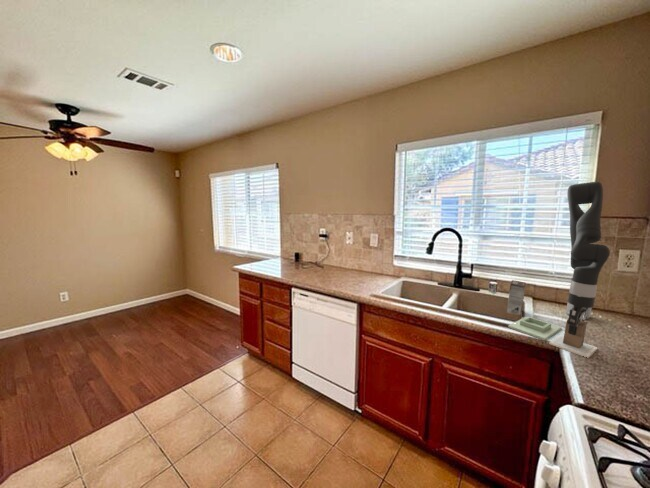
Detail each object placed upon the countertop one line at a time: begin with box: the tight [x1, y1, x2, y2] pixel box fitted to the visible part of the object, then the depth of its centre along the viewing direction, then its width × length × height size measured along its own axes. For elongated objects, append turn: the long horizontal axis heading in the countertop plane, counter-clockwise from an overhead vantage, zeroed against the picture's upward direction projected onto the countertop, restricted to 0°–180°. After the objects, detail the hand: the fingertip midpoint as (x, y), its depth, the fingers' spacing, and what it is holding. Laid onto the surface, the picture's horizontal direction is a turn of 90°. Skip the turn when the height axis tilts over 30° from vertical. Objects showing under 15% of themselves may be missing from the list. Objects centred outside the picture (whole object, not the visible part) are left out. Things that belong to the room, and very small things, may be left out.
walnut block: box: [563, 319, 588, 349], centre depth 108 cm, size 5×5×10 cm
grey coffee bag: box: [506, 279, 526, 316], centre depth 142 cm, size 9×6×16 cm
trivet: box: [548, 334, 598, 359], centre depth 109 cm, size 12×12×1 cm
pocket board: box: [507, 315, 563, 341], centre depth 124 cm, size 20×14×3 cm
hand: (575, 331), depth 108 cm, fingers open, 8 cm apart
